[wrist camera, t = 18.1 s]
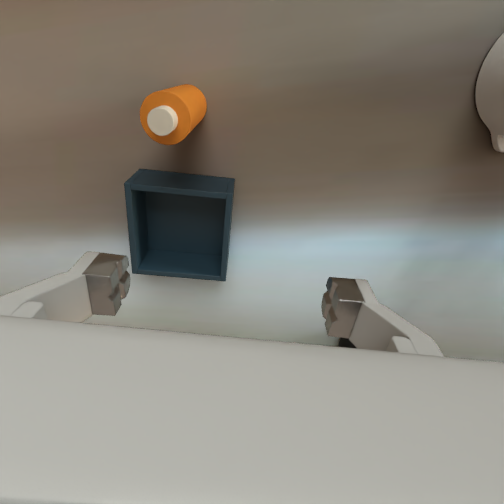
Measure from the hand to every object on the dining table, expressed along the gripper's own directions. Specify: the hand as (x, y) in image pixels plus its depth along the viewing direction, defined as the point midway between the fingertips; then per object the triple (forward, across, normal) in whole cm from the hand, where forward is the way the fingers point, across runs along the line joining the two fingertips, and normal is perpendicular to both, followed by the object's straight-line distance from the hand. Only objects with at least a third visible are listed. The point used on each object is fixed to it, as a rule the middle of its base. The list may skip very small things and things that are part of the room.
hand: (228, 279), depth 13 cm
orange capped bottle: (+35, +8, -2) cm, 36 cm away
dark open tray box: (+35, +8, +14) cm, 38 cm away
